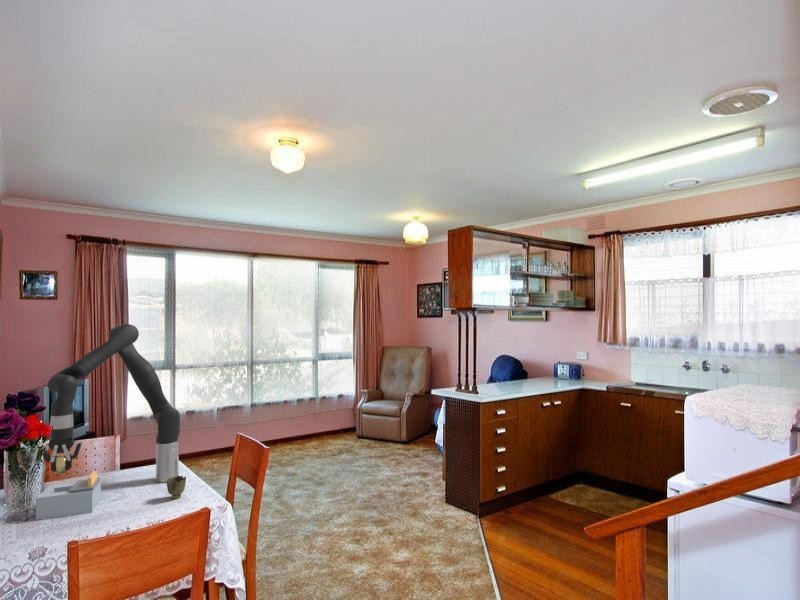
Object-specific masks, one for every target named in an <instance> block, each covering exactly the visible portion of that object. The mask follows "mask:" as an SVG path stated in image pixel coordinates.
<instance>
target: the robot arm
mask: <svg viewBox="0 0 800 600" xmlns="http://www.w3.org/2000/svg"><path fill="white" fill-rule="evenodd" d="M139 335H140V334H139V329H138V328H137V327H136V326H135V325H134V324H131V323H130V324H127V323H126V324H122V325H117V326H115V327H113V328H111V329H110V331H109V333H108V340H107V341H106V342H103V344H101V345H99V346H98V347H95V348H94V349H92V350H91V351H89V352H88V353H86V354H85V355H83V356H82V357H80V358H79V359H78V360H77V361H75V362H74V363H73V364H72V365H70V366H68V367H66V368H64V369H62V370H60V371H59V372H57V373H55V374H54V375H52V376H51V377H50V379H49V380H48V381H47V389H48V390H49V391H50V392H52V393H56V394H57V396H56V399H54V400H53V401H51V406H50V420H49V421H50V422H49V427H50V426H53V430H52V427H51V430H52V431H51V433H50V432H49V442H48V444H45V447H44V449H43V451H44V453H43V454H42V453H41V454H42V457H43V460H44V461H45V462H49V463H50V472H51V471H52V473H55V457H56V456H57V455H59V454H60V453H61V454H65V456H66V458H67V462H66V470H68V471H70V470H71V469H72V467H73V460H74V459H76V458H77V457H78V456H79V453H80V451H81V448H82V445H83V442H82V441H80V442H78V441H75V439H74V412H73V411H74V400H75V398H76V397H75V396H76V394H77V390H78V380H81V379H85V378H86V377H88V376H90V374H91V373H93V372H94V371H96V369H98V368H99V367H100V366H101V365H103V363H105V362H106V361H108V359H110V358H111V357H112V356H114V355H116V354H118V355H119V356H120V358H121V359H122V361H123V362H124V365H125V366H126V368H127V370H128V372H129V374H130V376H131V378H132V379H133V382H134V383H135V386H136V387H137V388H138V390H139V391H140V393H141V394H142V396H143V397H144V399H145V400H146V402H147V403H148V405H149V408H150V410H151V412H152V415H153V418H154V419H155V422H156V423H157V435H156V437H155V481H156V482H157V483H167V481H166V480H167V479H169V478H171V477H172V478H173V477H174V476H175V477H177V476H180V472H179V471H180V469H179V468H180V467H179V465H180V464H179V462H180V461H179V460H180V459H179V457H180V456H179V436H180V428H181V427H180V426H181V424H180V423H181V417H180V412H179V410H178V409H176V408H175V407H173V406H172V405H171V404H170V402H169V400H168V399H167V398H166V396H165V393H164V391H163V388H162V385H161V381H160V378H159V376H158V374H157V372H156V370H155V369H154V367H153V365H152V364H151V363H150V362H149V360H147V359H146V358H145V357H143V356H142V355H141V354H140V353H139V352H138V350H137V348H136V347H135V345H134V343H135V342H137V340H138V338H139ZM73 446H74V448H75V450H74V452H73V454H72V450H71V448H72V447H73ZM49 449H50V450H51V451H52V453H51V455H50V453H49Z"/></svg>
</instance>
